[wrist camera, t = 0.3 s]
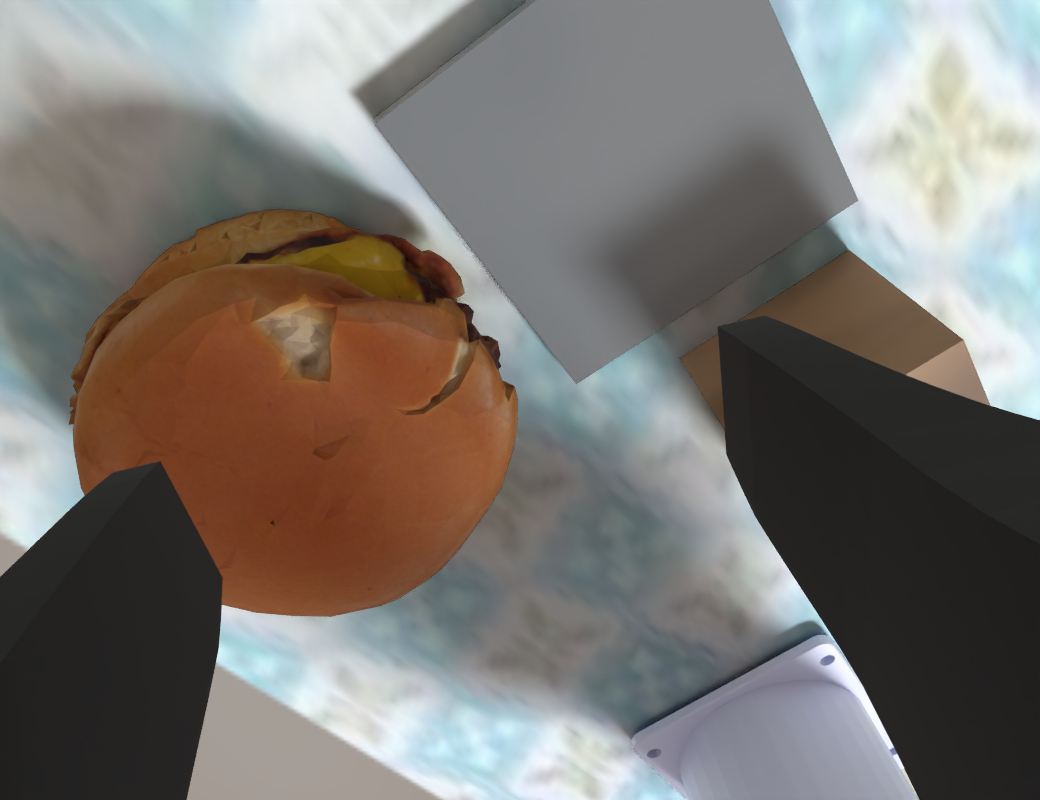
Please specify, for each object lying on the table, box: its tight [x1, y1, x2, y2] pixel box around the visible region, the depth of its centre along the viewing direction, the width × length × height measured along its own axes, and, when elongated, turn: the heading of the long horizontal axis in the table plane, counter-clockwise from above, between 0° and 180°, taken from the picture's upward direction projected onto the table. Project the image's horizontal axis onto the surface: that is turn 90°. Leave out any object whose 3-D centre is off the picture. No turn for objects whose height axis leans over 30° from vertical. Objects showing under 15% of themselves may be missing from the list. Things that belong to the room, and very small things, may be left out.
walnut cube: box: [680, 250, 990, 429], centre depth 21 cm, size 5×5×5 cm
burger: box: [69, 210, 518, 617], centre depth 19 cm, size 10×9×5 cm
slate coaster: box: [375, 0, 858, 384], centre depth 19 cm, size 8×8×1 cm
